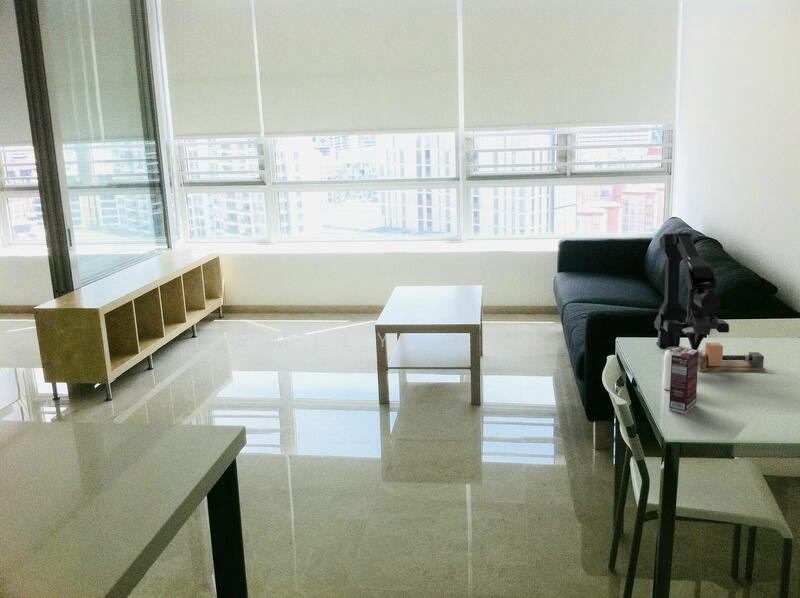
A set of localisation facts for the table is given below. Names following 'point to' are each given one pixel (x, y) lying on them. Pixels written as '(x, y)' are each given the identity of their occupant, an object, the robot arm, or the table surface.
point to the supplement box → (683, 380)
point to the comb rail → (734, 363)
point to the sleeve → (714, 354)
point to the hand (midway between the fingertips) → (694, 352)
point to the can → (668, 366)
